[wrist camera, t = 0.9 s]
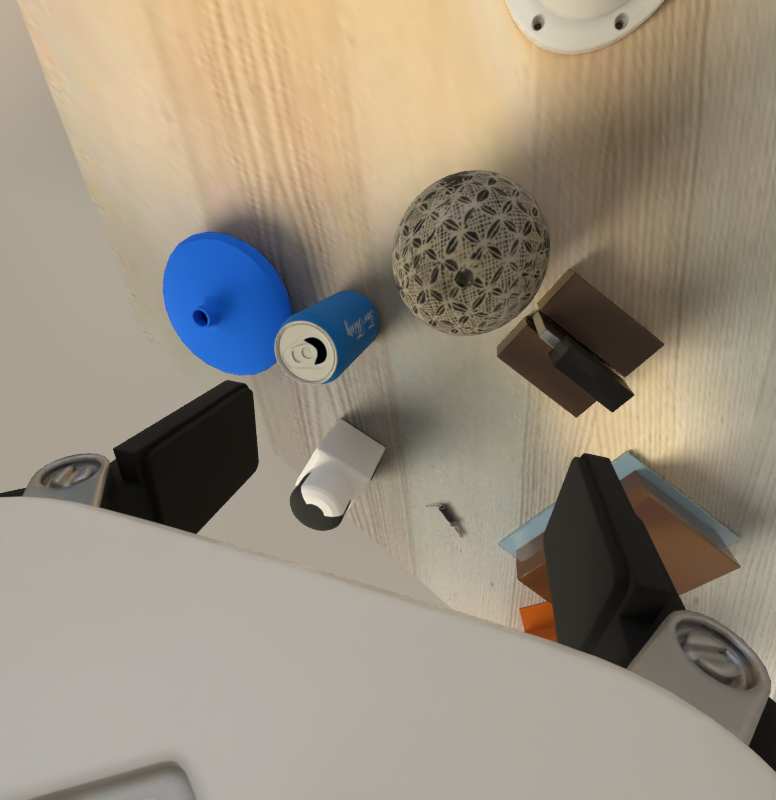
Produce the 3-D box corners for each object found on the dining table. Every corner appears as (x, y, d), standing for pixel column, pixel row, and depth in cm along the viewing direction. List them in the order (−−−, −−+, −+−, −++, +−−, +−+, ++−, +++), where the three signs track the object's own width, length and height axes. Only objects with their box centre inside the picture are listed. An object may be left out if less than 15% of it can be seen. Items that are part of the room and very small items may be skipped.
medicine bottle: (361, 481, 51) (327, 549, 41) (317, 453, 51) (272, 514, 41) (387, 447, 48) (356, 512, 37) (340, 416, 48) (296, 473, 37)
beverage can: (389, 338, 41) (353, 380, 31) (339, 353, 44) (290, 397, 33) (368, 281, 39) (322, 304, 29) (316, 300, 42) (256, 328, 31)
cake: (627, 450, 40) (643, 479, 36) (738, 536, 41) (767, 574, 37) (498, 542, 50) (498, 573, 46) (590, 610, 51) (599, 646, 47)
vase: (179, 214, 41) (124, 214, 35) (310, 252, 39) (276, 259, 33) (185, 345, 49) (140, 364, 43) (295, 382, 47) (265, 407, 41)
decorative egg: (528, 157, 31) (551, 116, 18) (547, 295, 36) (577, 342, 23) (397, 204, 35) (340, 198, 22) (428, 323, 40) (395, 377, 27)
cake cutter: (542, 305, 36) (557, 333, 27) (613, 361, 37) (650, 407, 28) (527, 321, 37) (536, 354, 28) (597, 376, 38) (627, 424, 29)
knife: (449, 539, 52) (468, 536, 50) (448, 542, 52) (468, 538, 50) (425, 504, 50) (445, 500, 49) (425, 507, 50) (444, 502, 48)
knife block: (569, 268, 34) (575, 272, 32) (652, 334, 35) (665, 344, 32) (496, 347, 39) (496, 356, 36) (571, 404, 39) (576, 418, 37)
